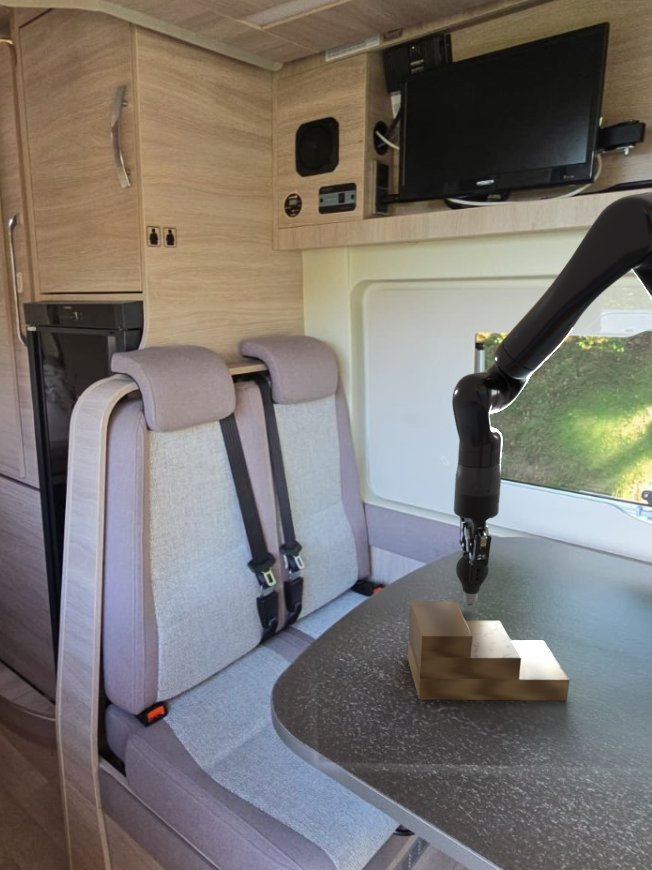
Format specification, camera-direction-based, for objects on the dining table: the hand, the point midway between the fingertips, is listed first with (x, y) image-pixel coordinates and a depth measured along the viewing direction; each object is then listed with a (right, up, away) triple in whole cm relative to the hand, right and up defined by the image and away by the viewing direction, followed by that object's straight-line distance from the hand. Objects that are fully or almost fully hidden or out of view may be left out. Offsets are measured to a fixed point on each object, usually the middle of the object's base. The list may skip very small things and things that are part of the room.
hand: (471, 576), depth 131 cm
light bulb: (0, -5, +2) cm, 6 cm away
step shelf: (-5, -15, -21) cm, 26 cm away
